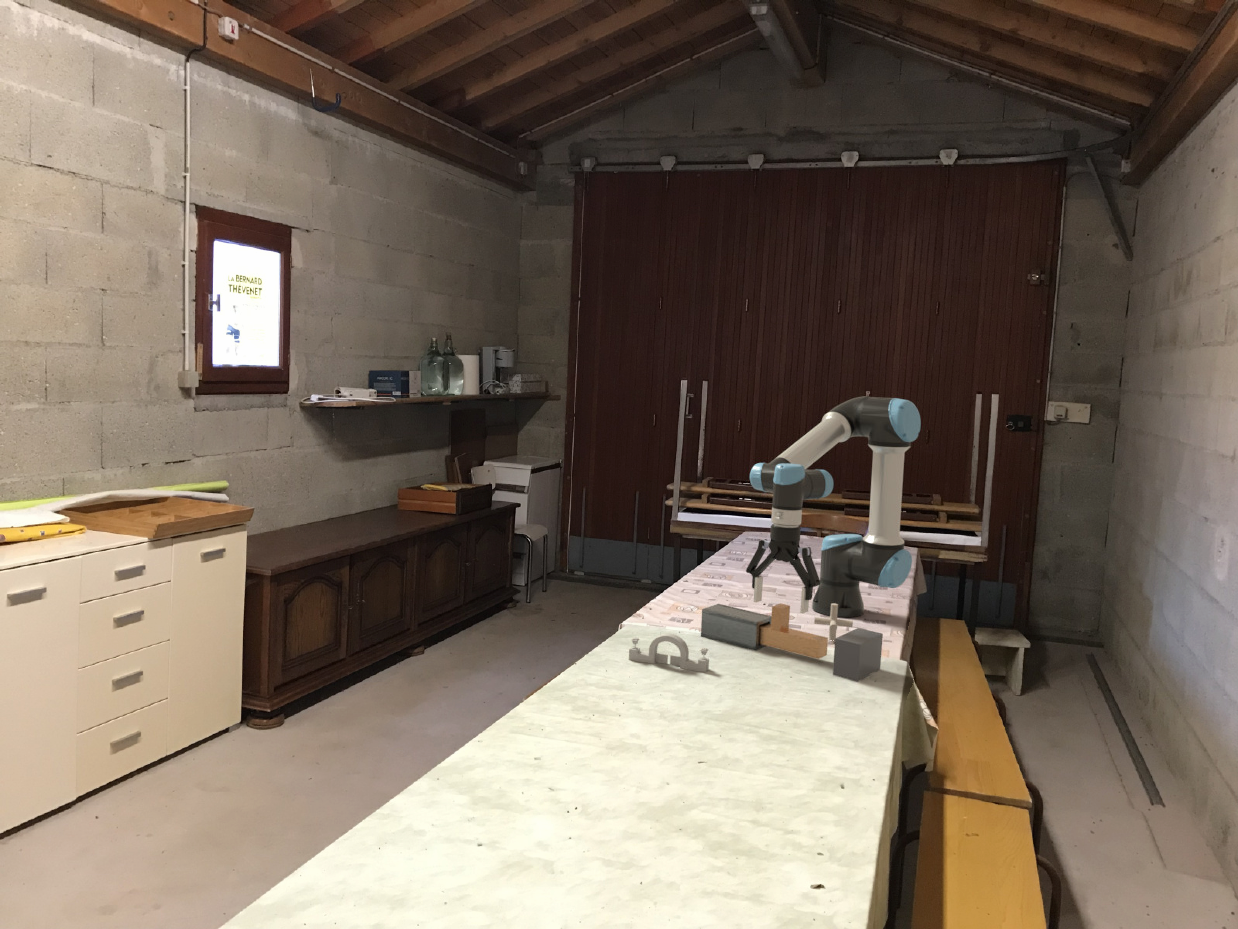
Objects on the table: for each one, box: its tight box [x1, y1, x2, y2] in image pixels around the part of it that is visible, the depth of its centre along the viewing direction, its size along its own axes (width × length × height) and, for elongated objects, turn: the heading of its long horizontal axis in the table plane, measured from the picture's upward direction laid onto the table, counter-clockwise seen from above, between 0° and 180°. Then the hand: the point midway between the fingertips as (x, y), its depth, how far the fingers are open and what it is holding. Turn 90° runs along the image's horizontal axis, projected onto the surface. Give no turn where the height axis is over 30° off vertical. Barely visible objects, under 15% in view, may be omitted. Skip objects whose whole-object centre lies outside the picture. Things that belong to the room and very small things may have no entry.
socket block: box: [832, 627, 884, 682], centre depth 231 cm, size 12×6×9 cm, turn 141°
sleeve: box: [700, 603, 772, 652], centre depth 253 cm, size 8×17×8 cm, turn 51°
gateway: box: [628, 632, 710, 673], centre depth 232 cm, size 20×2×8 cm, turn 69°
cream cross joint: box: [813, 603, 854, 642], centre depth 256 cm, size 10×10×10 cm
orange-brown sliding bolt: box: [758, 603, 829, 660], centre depth 246 cm, size 4×30×10 cm, turn 50°
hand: (780, 606), depth 244 cm, fingers open, 13 cm apart
